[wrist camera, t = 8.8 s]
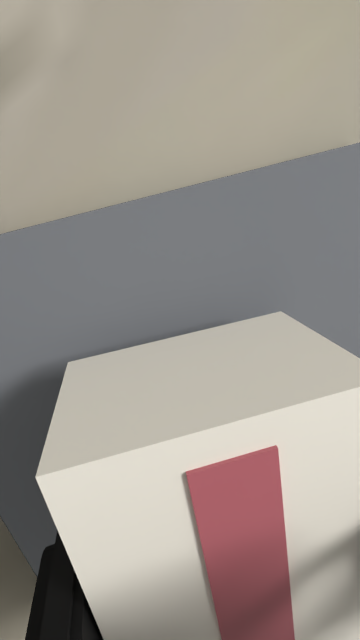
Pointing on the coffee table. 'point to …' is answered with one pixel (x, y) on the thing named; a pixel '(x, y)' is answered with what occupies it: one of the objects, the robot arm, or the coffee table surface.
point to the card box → (212, 484)
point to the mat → (166, 290)
